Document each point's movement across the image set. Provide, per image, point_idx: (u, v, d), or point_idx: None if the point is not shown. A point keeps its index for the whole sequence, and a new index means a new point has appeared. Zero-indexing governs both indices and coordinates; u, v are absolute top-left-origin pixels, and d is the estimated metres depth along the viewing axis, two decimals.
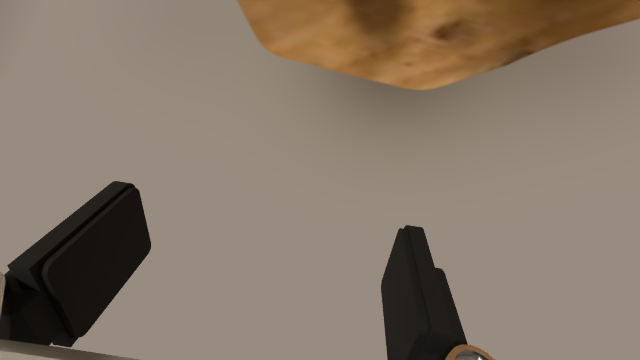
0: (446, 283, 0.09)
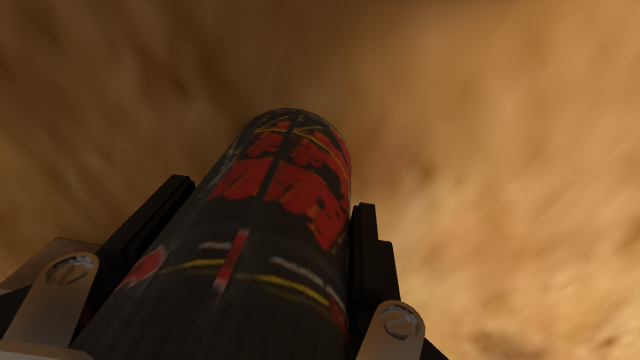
0: (393, 254, 0.10)
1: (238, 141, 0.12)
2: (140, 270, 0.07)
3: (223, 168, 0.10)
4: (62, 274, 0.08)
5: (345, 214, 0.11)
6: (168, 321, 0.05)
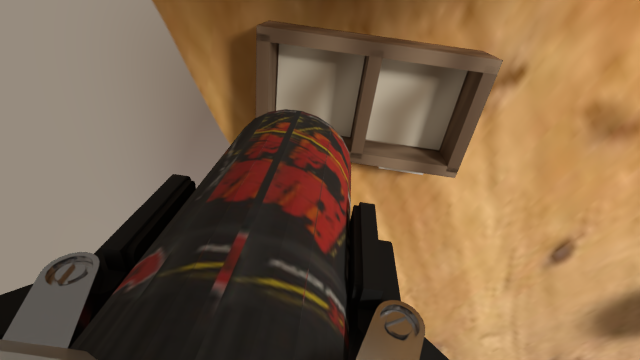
0: (392, 254, 0.10)
1: (238, 142, 0.12)
2: (139, 273, 0.07)
3: (222, 170, 0.10)
4: (62, 274, 0.08)
5: (345, 216, 0.11)
6: (166, 325, 0.05)
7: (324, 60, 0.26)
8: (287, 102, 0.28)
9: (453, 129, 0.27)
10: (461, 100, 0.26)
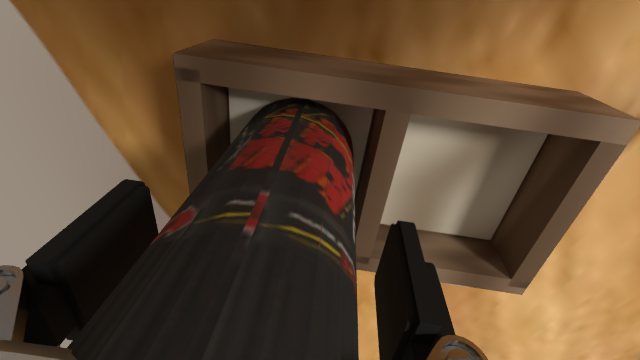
0: (436, 277, 0.10)
1: (250, 126, 0.13)
2: (175, 224, 0.07)
3: (239, 146, 0.11)
4: None
5: (350, 190, 0.12)
6: (208, 255, 0.06)
7: None
8: None
9: (520, 217, 0.16)
10: (538, 173, 0.16)
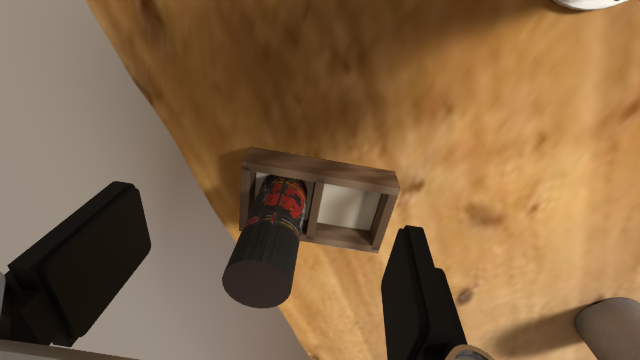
0: (446, 283, 0.09)
1: (266, 185, 0.36)
2: (252, 220, 0.30)
3: (265, 196, 0.34)
4: None
5: (301, 210, 0.34)
6: (264, 227, 0.29)
7: None
8: None
9: (376, 220, 0.40)
10: (380, 203, 0.39)
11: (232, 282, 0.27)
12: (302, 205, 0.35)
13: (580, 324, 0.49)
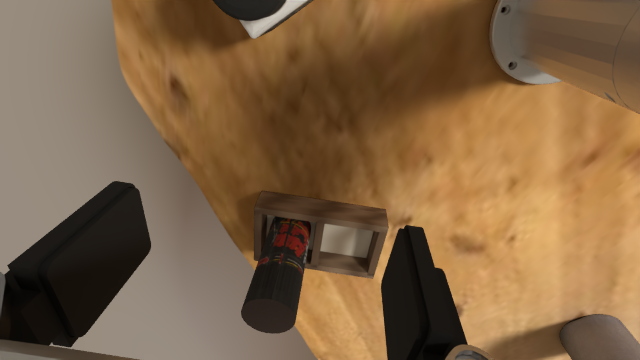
0: (446, 283, 0.09)
1: (276, 225, 0.43)
2: (264, 261, 0.37)
3: (274, 236, 0.41)
4: None
5: (305, 247, 0.41)
6: (273, 268, 0.36)
7: None
8: None
9: (370, 251, 0.46)
10: (374, 236, 0.45)
11: (249, 314, 0.34)
12: (306, 242, 0.42)
13: (563, 337, 0.54)
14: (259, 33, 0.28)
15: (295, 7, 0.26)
